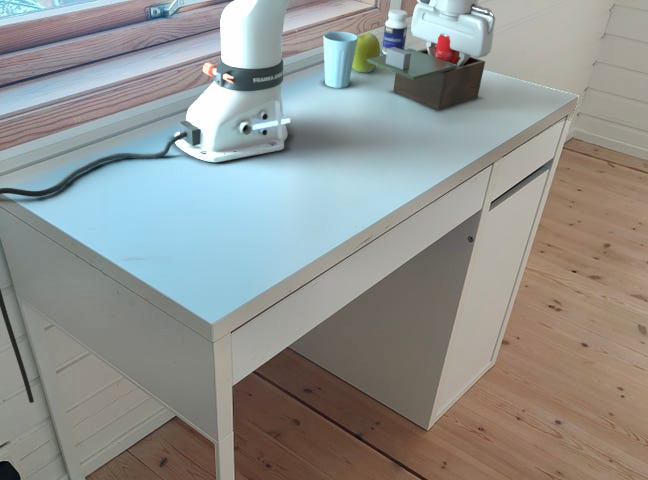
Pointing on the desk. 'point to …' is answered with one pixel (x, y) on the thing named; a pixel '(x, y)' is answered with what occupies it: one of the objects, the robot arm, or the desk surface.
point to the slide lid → (411, 63)
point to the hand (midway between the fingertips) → (444, 67)
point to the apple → (365, 52)
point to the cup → (339, 57)
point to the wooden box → (443, 85)
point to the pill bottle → (395, 30)
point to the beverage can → (446, 50)
